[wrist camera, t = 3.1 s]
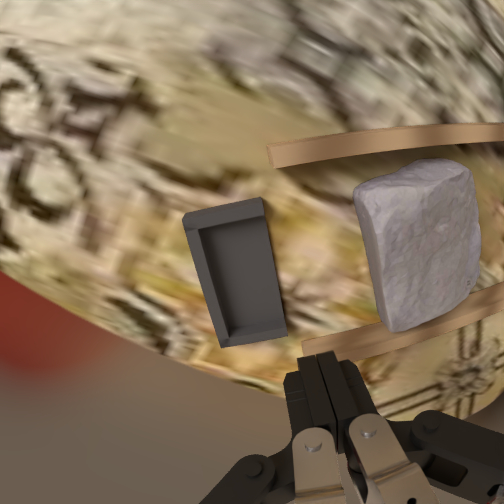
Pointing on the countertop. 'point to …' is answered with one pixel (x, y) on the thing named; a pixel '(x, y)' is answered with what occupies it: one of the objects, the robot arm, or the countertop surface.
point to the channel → (377, 140)
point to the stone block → (420, 239)
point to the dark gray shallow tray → (236, 271)
